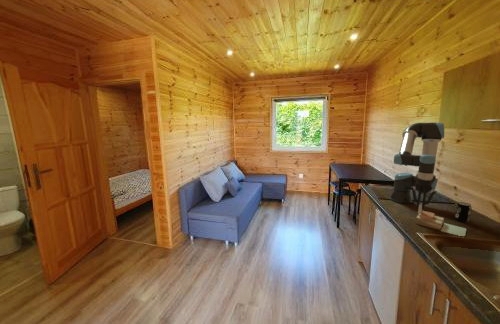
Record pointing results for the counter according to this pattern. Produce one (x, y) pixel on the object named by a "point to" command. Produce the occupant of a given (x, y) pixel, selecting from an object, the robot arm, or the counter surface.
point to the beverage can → (463, 212)
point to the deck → (430, 222)
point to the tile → (427, 215)
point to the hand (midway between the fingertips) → (419, 213)
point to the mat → (453, 229)
